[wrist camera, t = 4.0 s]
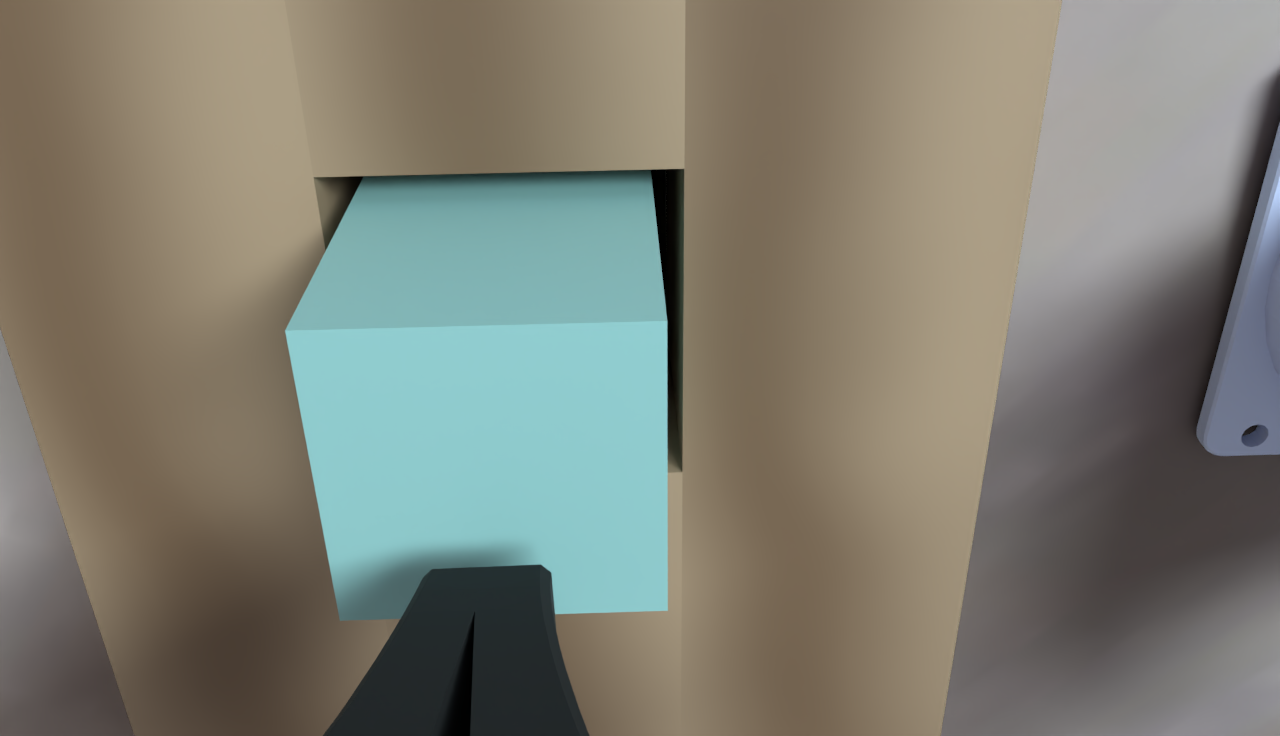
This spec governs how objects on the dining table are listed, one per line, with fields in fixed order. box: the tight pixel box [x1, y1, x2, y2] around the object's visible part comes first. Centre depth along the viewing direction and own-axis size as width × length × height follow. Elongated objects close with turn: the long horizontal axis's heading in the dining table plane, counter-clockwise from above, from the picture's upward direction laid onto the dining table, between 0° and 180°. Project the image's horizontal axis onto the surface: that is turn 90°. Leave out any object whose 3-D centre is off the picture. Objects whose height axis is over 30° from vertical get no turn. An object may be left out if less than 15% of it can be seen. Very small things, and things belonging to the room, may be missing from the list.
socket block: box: [0, 0, 1062, 736], centre depth 21 cm, size 14×22×5 cm, turn 1°
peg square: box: [285, 170, 668, 621], centre depth 15 cm, size 4×4×5 cm
